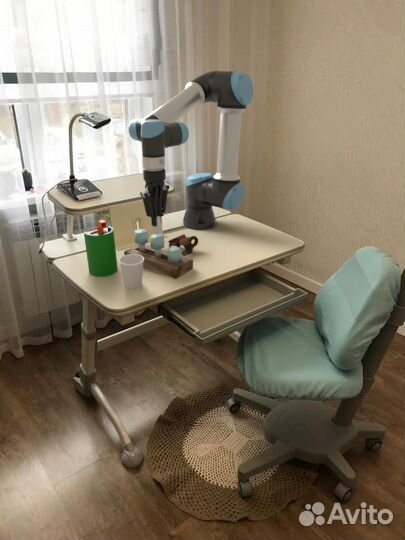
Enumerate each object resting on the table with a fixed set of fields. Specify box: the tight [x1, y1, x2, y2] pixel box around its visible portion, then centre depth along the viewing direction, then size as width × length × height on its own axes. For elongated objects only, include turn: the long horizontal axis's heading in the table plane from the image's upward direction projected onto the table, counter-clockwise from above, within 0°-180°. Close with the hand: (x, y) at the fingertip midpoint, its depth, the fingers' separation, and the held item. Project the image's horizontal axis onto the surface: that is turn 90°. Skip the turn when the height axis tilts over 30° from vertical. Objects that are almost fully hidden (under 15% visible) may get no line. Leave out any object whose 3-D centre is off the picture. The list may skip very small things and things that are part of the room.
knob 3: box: [167, 246, 182, 264], centre depth 156 cm, size 5×5×8 cm
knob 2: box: [149, 233, 165, 258], centre depth 159 cm, size 5×5×8 cm
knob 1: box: [133, 228, 149, 252], centre depth 163 cm, size 5×5×8 cm
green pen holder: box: [83, 219, 119, 278], centre depth 153 cm, size 10×9×20 cm
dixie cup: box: [118, 254, 144, 291], centre depth 146 cm, size 8×8×10 cm
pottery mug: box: [167, 233, 199, 257], centre depth 173 cm, size 12×10×8 cm
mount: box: [123, 243, 194, 280], centre depth 161 cm, size 10×25×4 cm, turn 54°
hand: (157, 233), depth 157 cm, fingers closed
